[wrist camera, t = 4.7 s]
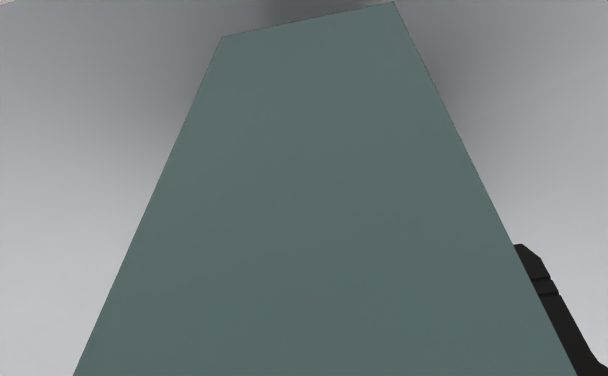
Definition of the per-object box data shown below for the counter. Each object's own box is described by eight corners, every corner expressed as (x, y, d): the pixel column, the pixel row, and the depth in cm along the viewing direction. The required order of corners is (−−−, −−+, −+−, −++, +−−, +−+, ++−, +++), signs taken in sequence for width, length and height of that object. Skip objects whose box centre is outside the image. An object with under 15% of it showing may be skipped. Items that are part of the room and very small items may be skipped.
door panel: (221, 37, 13) (-26, 589, 3) (394, 1, 12) (660, 532, 3) (306, 328, 18) (302, 849, 9) (428, 312, 17) (561, 845, 8)
